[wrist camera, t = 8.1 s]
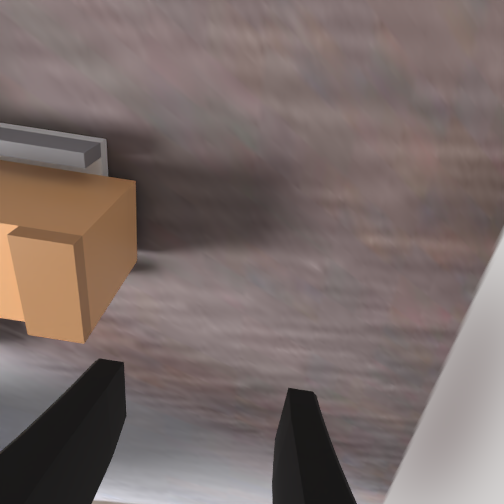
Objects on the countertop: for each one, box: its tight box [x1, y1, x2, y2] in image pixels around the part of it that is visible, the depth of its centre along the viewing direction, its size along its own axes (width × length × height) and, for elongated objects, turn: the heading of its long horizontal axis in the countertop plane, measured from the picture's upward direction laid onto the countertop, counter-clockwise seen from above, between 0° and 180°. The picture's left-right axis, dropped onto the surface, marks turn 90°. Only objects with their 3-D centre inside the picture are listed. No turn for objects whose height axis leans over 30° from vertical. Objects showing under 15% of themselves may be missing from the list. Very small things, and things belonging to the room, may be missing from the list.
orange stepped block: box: [0, 160, 137, 344], centre depth 15 cm, size 4×8×6 cm, turn 82°
